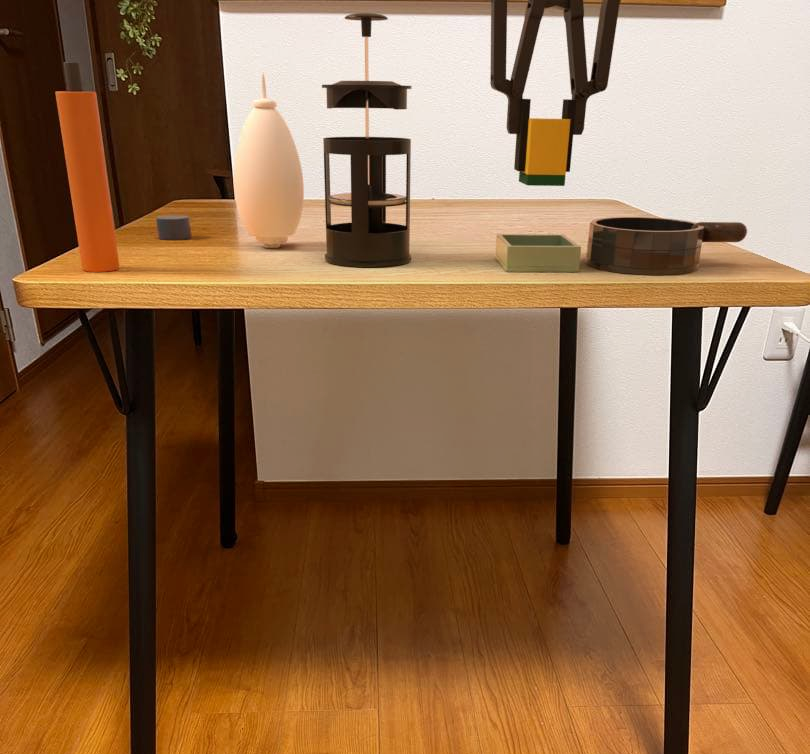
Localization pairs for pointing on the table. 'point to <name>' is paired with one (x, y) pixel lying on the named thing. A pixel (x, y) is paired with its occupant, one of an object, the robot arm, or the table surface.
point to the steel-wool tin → (173, 227)
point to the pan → (644, 245)
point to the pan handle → (722, 231)
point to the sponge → (546, 152)
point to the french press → (367, 174)
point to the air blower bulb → (268, 175)
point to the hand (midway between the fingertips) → (541, 170)
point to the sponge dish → (537, 253)
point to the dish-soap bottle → (87, 173)
